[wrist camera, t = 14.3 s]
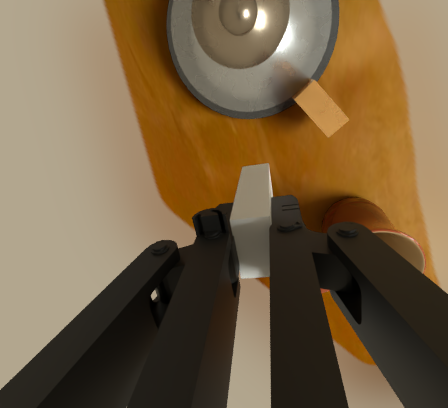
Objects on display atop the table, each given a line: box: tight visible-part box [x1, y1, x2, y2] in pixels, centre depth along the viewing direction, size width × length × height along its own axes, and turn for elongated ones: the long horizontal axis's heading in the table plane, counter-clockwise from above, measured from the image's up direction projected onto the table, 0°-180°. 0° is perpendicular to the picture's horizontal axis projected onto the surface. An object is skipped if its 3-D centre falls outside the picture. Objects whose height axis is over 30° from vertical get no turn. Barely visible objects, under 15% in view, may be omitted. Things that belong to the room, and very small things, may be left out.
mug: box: [320, 198, 426, 293], centre depth 34 cm, size 12×9×10 cm
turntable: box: [171, 0, 349, 138], centre depth 28 cm, size 20×15×4 cm
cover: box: [191, 0, 290, 69], centre depth 25 cm, size 8×8×6 cm
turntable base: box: [167, 0, 339, 119], centre depth 30 cm, size 17×17×2 cm
